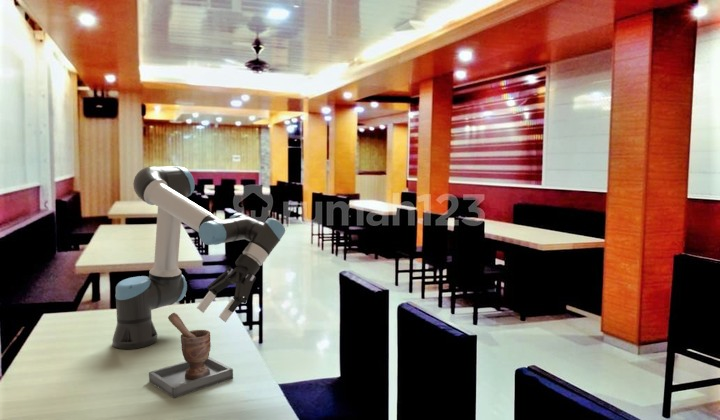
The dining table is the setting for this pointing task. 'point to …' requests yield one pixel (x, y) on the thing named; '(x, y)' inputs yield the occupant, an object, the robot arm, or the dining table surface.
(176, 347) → the dining table surface
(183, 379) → the tray
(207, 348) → the mortar and pestle
